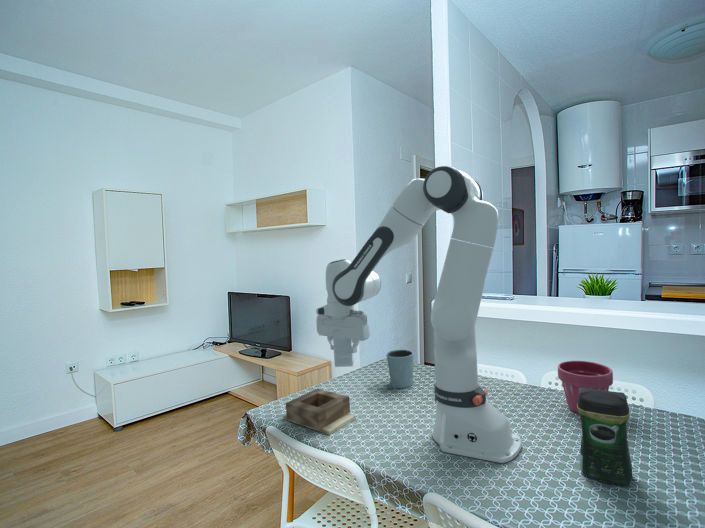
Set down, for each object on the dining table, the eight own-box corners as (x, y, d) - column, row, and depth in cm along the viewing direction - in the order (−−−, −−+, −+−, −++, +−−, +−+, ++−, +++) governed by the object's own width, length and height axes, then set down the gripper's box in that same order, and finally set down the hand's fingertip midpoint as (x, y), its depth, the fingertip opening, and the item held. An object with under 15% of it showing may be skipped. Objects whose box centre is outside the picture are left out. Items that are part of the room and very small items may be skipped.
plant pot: (604, 424, 105) (602, 379, 104) (551, 410, 116) (549, 368, 115) (620, 408, 114) (619, 366, 114) (570, 396, 125) (568, 357, 124)
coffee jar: (632, 471, 84) (629, 388, 83) (633, 491, 78) (630, 401, 77) (581, 459, 90) (578, 381, 89) (577, 477, 83) (574, 393, 82)
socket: (357, 417, 119) (356, 398, 119) (327, 436, 108) (326, 415, 108) (311, 403, 131) (310, 386, 131) (280, 419, 121) (279, 401, 120)
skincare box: (354, 362, 128) (352, 327, 127) (352, 366, 123) (350, 330, 123) (336, 363, 128) (334, 327, 128) (334, 367, 124) (332, 330, 124)
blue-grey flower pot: (419, 381, 147) (417, 350, 146) (408, 390, 138) (406, 358, 137) (395, 378, 152) (393, 348, 151) (383, 386, 143) (381, 355, 143)
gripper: (372, 309, 121) (374, 352, 121) (325, 306, 134) (327, 345, 134) (359, 312, 116) (362, 357, 117) (312, 309, 129) (315, 349, 130)
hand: (343, 351), depth 126 cm, fingers closed on skincare box, 7 cm apart
